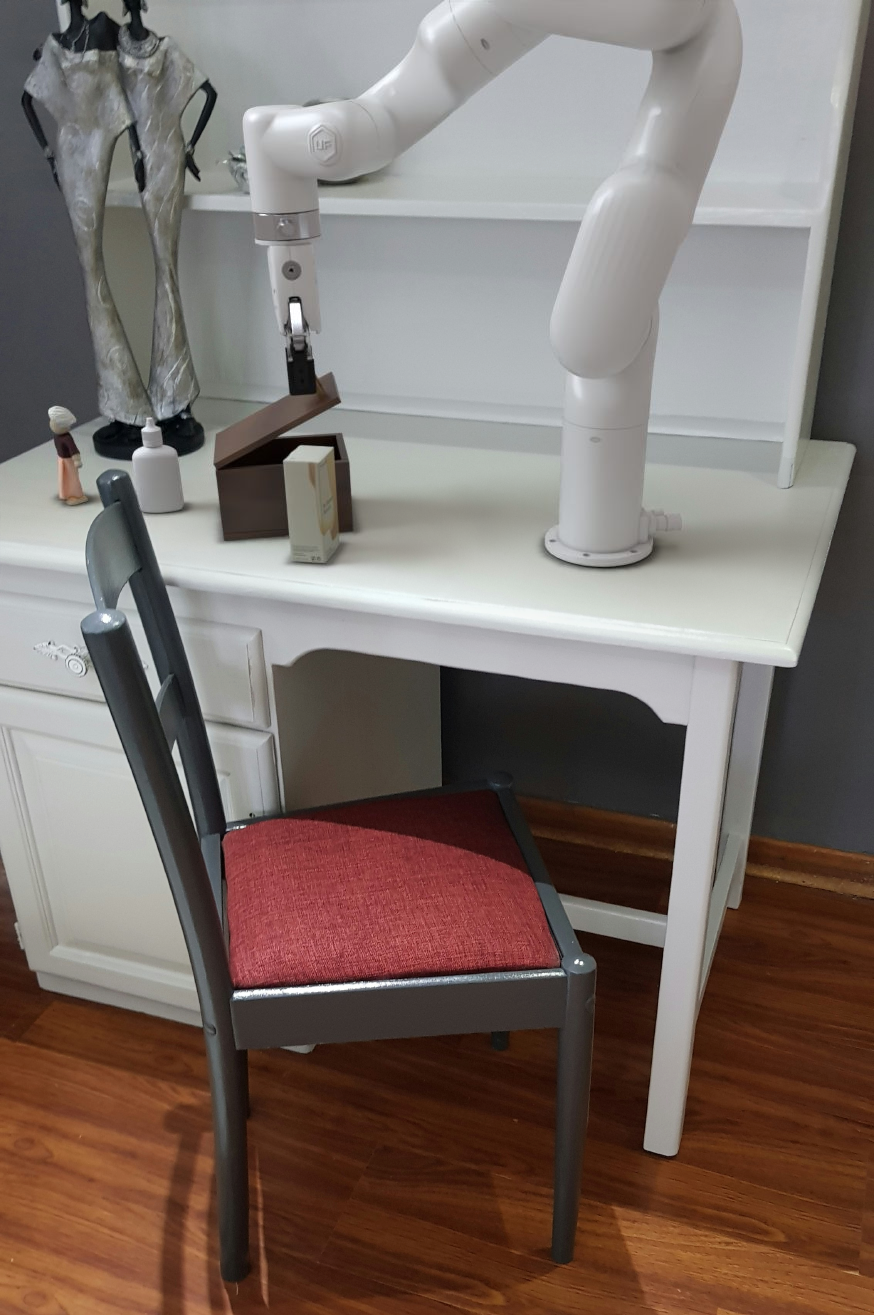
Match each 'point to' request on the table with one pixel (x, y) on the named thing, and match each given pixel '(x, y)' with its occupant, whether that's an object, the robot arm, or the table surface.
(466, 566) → the table surface
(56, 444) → the grandmother figurine
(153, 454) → the eye dropper bottle
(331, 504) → the cosmetic box
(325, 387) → the lid
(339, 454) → the chest
